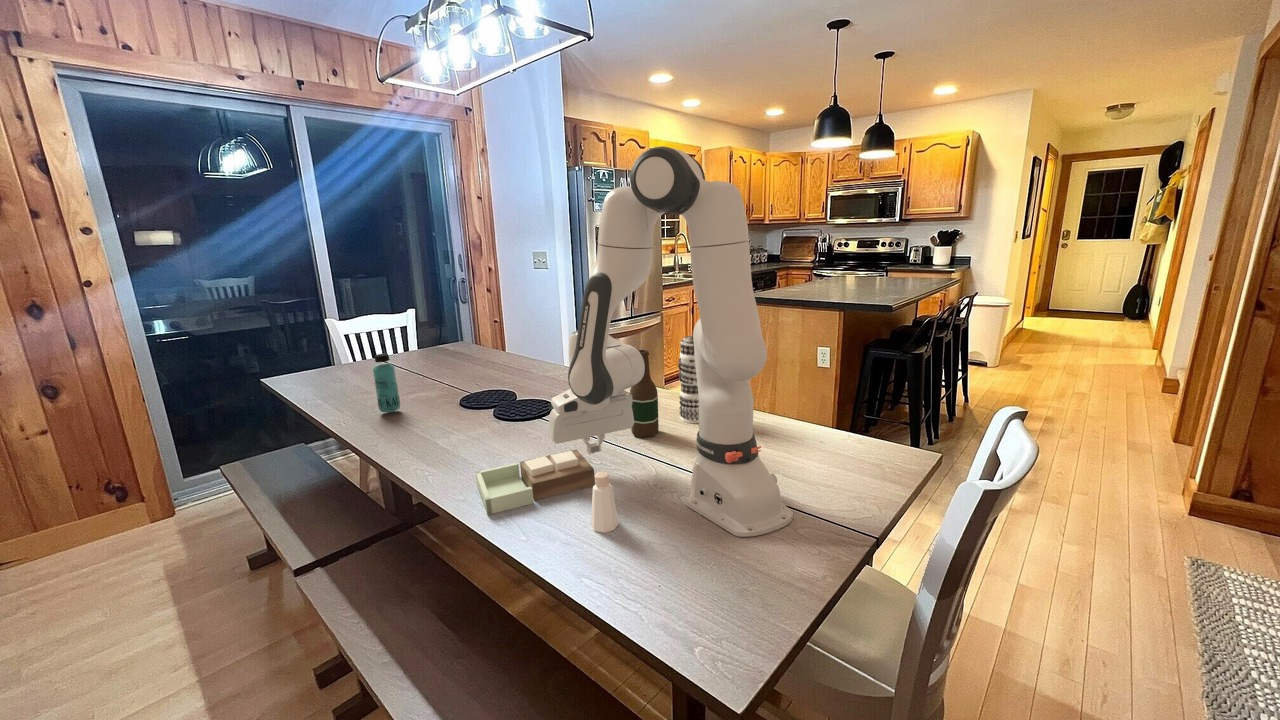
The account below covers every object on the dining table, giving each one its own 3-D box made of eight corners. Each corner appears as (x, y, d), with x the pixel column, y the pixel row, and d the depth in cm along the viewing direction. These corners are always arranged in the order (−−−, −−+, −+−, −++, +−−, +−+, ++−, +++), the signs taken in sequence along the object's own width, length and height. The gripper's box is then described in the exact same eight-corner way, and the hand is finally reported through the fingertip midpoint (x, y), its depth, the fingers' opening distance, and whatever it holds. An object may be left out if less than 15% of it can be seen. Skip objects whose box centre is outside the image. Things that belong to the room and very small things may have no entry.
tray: (533, 503, 108) (532, 488, 107) (487, 515, 104) (485, 499, 103) (518, 476, 120) (517, 462, 119) (477, 485, 116) (475, 471, 115)
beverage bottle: (381, 411, 168) (371, 353, 163) (403, 408, 170) (394, 351, 165) (378, 418, 162) (367, 357, 157) (400, 415, 164) (390, 355, 159)
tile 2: (578, 465, 116) (577, 458, 115) (557, 470, 114) (556, 463, 113) (571, 456, 120) (571, 450, 120) (551, 461, 118) (550, 455, 118)
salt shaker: (585, 525, 99) (581, 474, 96) (606, 514, 103) (603, 465, 100) (603, 536, 95) (600, 484, 93) (624, 524, 99) (621, 473, 96)
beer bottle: (659, 428, 146) (657, 347, 140) (657, 439, 138) (655, 354, 132) (632, 428, 147) (629, 347, 141) (629, 438, 139) (626, 354, 133)
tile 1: (553, 470, 114) (552, 464, 113) (532, 476, 111) (531, 470, 111) (545, 462, 118) (545, 456, 117) (524, 468, 115) (524, 461, 115)
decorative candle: (714, 415, 154) (714, 335, 148) (701, 425, 146) (701, 341, 140) (686, 411, 159) (686, 333, 152) (673, 420, 151) (672, 339, 145)
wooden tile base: (594, 485, 115) (593, 469, 114) (534, 500, 109) (532, 483, 108) (577, 464, 125) (576, 449, 124) (521, 477, 119) (519, 461, 118)
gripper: (626, 385, 123) (628, 438, 127) (544, 400, 115) (548, 456, 118) (637, 392, 118) (639, 447, 121) (552, 408, 109) (556, 466, 113)
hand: (594, 451), depth 120 cm, fingers closed
